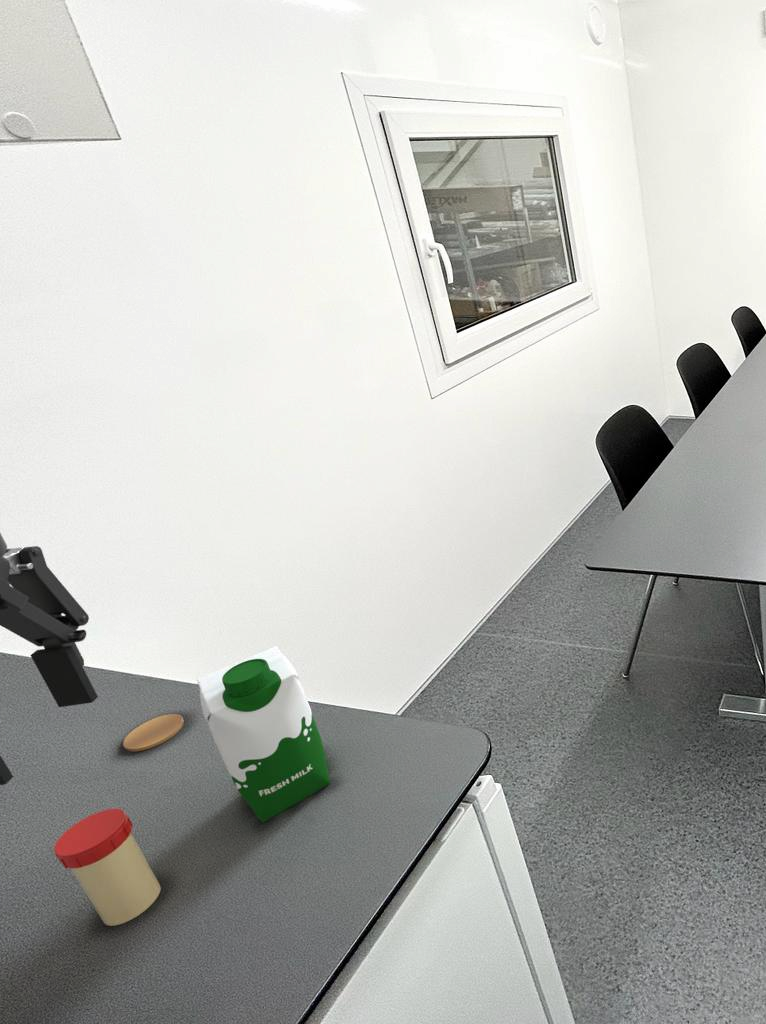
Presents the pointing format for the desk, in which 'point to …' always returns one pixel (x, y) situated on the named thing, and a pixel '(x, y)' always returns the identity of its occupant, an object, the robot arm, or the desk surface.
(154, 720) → the coaster
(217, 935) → the desk surface
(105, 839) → the jar lid
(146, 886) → the jar
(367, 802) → the desk surface
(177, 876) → the desk surface
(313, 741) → the milk carton
